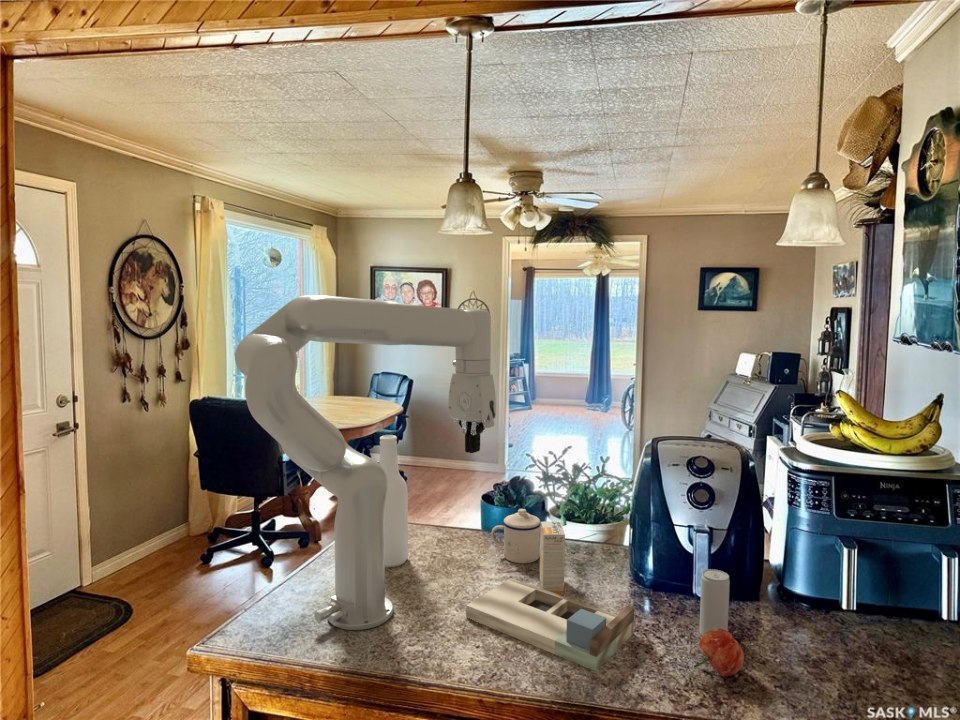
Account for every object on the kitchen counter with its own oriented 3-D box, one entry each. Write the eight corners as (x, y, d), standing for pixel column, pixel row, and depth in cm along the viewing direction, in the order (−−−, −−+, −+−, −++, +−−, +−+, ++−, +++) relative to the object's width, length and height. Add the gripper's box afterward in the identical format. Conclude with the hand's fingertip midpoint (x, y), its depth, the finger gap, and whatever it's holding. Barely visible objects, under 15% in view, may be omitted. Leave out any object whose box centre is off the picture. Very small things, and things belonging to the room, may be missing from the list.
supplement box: (564, 595, 128) (566, 534, 127) (542, 594, 128) (543, 534, 127) (560, 577, 136) (561, 520, 135) (539, 577, 136) (539, 520, 135)
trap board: (596, 671, 101) (596, 642, 101) (466, 617, 118) (466, 592, 118) (633, 633, 113) (634, 607, 113) (510, 589, 130) (510, 566, 130)
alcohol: (377, 551, 149) (375, 431, 147) (411, 554, 148) (411, 433, 145) (365, 567, 141) (364, 439, 138) (402, 569, 139) (401, 441, 137)
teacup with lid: (541, 550, 151) (542, 504, 150) (539, 565, 142) (539, 517, 141) (494, 546, 153) (494, 501, 152) (488, 562, 144) (488, 514, 143)
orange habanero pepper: (705, 696, 99) (760, 670, 95) (678, 653, 100) (731, 627, 97) (707, 675, 105) (759, 651, 102) (682, 636, 107) (732, 611, 104)
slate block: (592, 652, 102) (592, 629, 102) (566, 641, 106) (566, 619, 105) (605, 639, 106) (606, 617, 106) (580, 629, 109) (581, 608, 109)
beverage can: (726, 632, 113) (729, 571, 112) (727, 646, 109) (730, 582, 108) (698, 628, 115) (701, 567, 114) (699, 641, 110) (701, 578, 109)
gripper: (435, 366, 131) (435, 449, 133) (490, 371, 122) (489, 460, 124) (457, 363, 137) (457, 443, 139) (511, 368, 128) (510, 453, 130)
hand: (472, 451), depth 131 cm, fingers closed
